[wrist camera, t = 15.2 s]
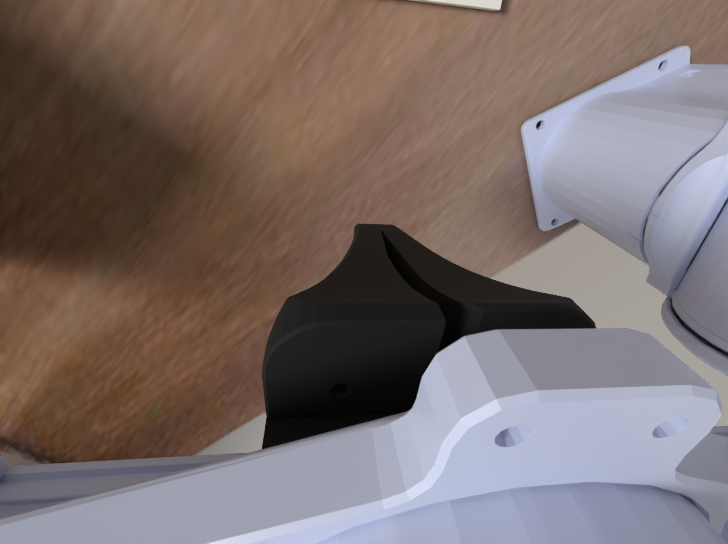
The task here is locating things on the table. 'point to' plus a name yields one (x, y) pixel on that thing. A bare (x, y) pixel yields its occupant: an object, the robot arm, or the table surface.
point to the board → (469, 3)
